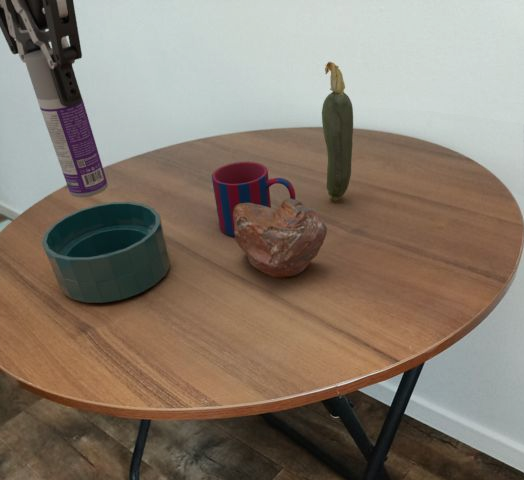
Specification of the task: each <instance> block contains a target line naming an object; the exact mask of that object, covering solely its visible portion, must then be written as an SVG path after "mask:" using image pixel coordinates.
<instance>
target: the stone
mask: <svg viewBox="0 0 524 480" xmlns="http://www.w3.org/2000/svg"><path fill="white" fill-rule="evenodd" d="M233 219H234V225H235V231H234V232H235V236H236V237H234V238H235V242H236V243H237V245H238V247H239V248H240V249H241V250H242V252H243V253H244V254H245V255H246V257H247V260H248V261H249V264H250V265H251V266H253V267H254V268H255V269H257V270H259V271H260V272H262V273H264V274H266V275H267V276H269V277H273V278H286V277H294V276H296V275H299V274H300V273H302V272H303V271H304V270H305V269H306V268H307V267H308V266H309V264H311V262H312V260H313V259H314V258H316V257H317V256H318V253H319V251H320V250H321V247H322V246H323V245H324V241H325V239H326V236H327V233H328V228H327V226H326V224H325V222H324V221H323V219H322V217H321V216H320V215H319V214H317V212H316V211H315V210H314V209H313V208H312V207H309V206H307V205H304V203H303V202H301V201H299V200H297V199H295V200H294V199H290V198H286V199H284V200H283V201H282V202H281V203H280V204H278V206H277V208H276V209H275V208H272V207H271V208H269V207H266V206H262V205H257V204H253V203H240V204H238V205H236V207H235V208H234V211H233Z"/></svg>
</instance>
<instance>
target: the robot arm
mask: <svg viewBox="0 0 524 480" xmlns="http://www.w3.org/2000/svg"><path fill="white" fill-rule="evenodd" d="M0 30H1V32H2V35H3V37H4V39H5V41H6V43H7V46H8V48H9V50H10V52H11V53H12V54H13V55H17V54H18V57H19V58H20V60H21V62H22V63H24V64H26V63H25V60H24V55H26V54H28V53H31V52H34V51H38V50H42V51H43V54H44V56H45V58H46V60H47V62H48V65H49V66H50V68H51V69H50V72H51V75H52V78H53V81H54V84H55V87H56V90H57V93H58V96H59V99H60V102H61V104H62V105H63V106H66V107H71V106H74V105H77V104H80V103H81V101H82V99H83V97H81V96H82V93H81V90H80V87H79V84H78V80H77V77H76V75H75V71H74V67H73V64H75V62H76V61H77V60H81V59H82V57H83V53H82V47H81V40H80V34H79V28H78V22H77V16H76V11H75V3H74V0H0ZM67 37H68V39H67ZM51 48H52V49H51ZM52 50H53V51H52ZM80 93H81V94H80Z"/></svg>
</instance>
